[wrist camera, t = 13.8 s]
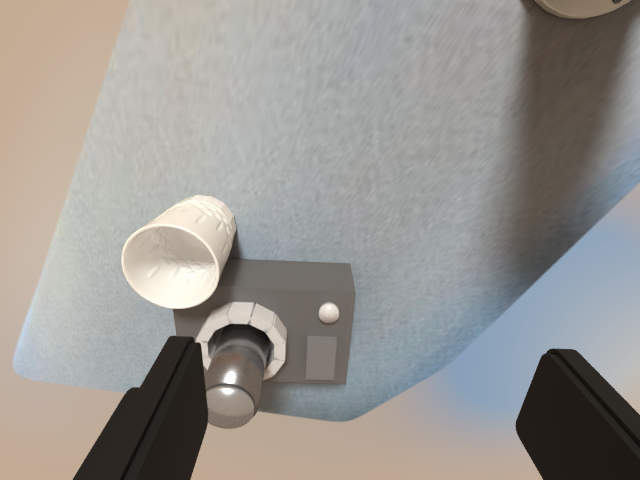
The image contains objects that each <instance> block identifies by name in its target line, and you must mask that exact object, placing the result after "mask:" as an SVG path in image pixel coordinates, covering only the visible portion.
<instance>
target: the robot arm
mask: <svg viewBox="0 0 640 480" xmlns="http://www.w3.org/2000/svg"><path fill="white" fill-rule="evenodd" d="M534 1H535V2H536V3H537V4H538V5H539V6H541V7H542V8H543V9H544V10H545V11H547V12H549V13H551V14H553V15H555V16H558V17H562V18H567V19H586V18H590V17H594V16H599V15H602V14H605V13H608V12H610V11H613V10H615V9H617V8H619V7H621V6H622V5H624V4H626V3H628V2H629V1H631V0H534ZM207 423H208V405H207V396H206V386H205V377H204V367H203V358H202V348H201V343H199V342H195V340H194V338H193V337H190V336H170V337H169V338H168V340H167V342H166V343H165V345H164V347H163V349H162V350H161V352H160V354H159V355H158V357H157V359H156V361H155V362H154V364H153V366H152V368H151V369H150V371H149V373H148V375H147V376H146V378H145V380H144V381H143V383H142V385H141V387H140V388H138V387H134V388H131V389H129V390H128V391H127V392H126V394H125V395H124V397H123V398H122V400H121V401H120V403H119V405H118V406H117V408H116V410H115V411H114V413H113V414H112V416H111V418H110V420H109V421H108V423H107V424H106V426H105V428H104V429H103V431H102V432H101V435H100V436H99V437H98V439H97V441H96V442H95V444H94V445H93V447H92V449H91V451H90V452H89V454H88V455H87V457H86V459H85V460H84V462H83V464H82V465H81V467H80V468H79V470H78V472H77V473H76V475H75V477H74V478H73V480H190V479H191V475H192V472H193V469H194V466H195V463H196V459H197V456H198V453H199V450H200V447H201V444H202V441H203V438H204V434H205V431H206V428H207ZM516 431H517V434H518V436H519V438H520V440H521V442H522V443H523V445H524V447H525V449H526V450H527V452H528V454H529V456H530V457H531V459H532V461H533V463H534V464H535V466H536V468H537V469H538V471H539V473H540V475H541V476H542V478H543V480H640V415H639V414H638V413H637V412H636V411H635V410H634V409H633V408H632V407H631V406H630V405H629V403H628V402H627V401H626V400H625V399H624V398H623V397H622V396H621V395H620V394H619V393H617V391H616V390H615V389H614V388H613V387H612V386H611V385H610V384H609V383H608V382H607V381H606V380H605V379H604V378H603V377H602V376H601V375H600V374H599V373H598V372H597V371H596V370H595V369H594V368H593V367H592V366H591V365H590V364H589V363H588V362H587V361H586V360H585V359H584V358H583V357H582V355H581V354H579V353H578V352H577V351H576V350H573V349H550V350H548V351H547V353H546V354H544V355H542V357H541V359H540V361H539V364H538V366H537V369H536V372H535V374H534V377H533V380H532V382H531V384H530V387H529V390H528V392H527V395H526V397H525V400H524V402H523V405H522V408H521V410H520V413H519V415H518V418H517V420H516Z"/></svg>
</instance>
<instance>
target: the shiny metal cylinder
mask: <svg viewBox="0 0 640 480" xmlns="http://www.w3.org/2000/svg"><path fill="white" fill-rule="evenodd" d="M269 344H270V338H269V337H268V336H267V334H266V333H265V332H264V331H262V330H260V329H258V328H256V327H254V326H252V325H250V324H228V325H226V326H224V328H223V330H222V333H221V336H220V338H219V341H218V344H217V346H216V349H215V352H214V354H213V357H212V360H211V362H210V365H209V368H208V370H207V373H206V376H205V386H206V396H207V405H208V423H210V424H211V425H213V426H216V427H220V428H226V429H232V428H238V427H241V426H243V425H245V424H247V423H248V422H249V421H250V420H251V418H252V417H253V416H254V415H255V414H256V412H257V410H258V406H259V401H260V395H261V389H262V384H263V378H264V372H265V367H266V361H267V355H268V350H269Z"/></svg>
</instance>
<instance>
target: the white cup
mask: <svg viewBox="0 0 640 480" xmlns="http://www.w3.org/2000/svg"><path fill="white" fill-rule="evenodd" d="M236 229H237V228H236V224H235V219H234V215H233V214H232V212H231V211H230V210H229V209H228V207H227V206H226V205H225V204H224V203H223V202H221V201H219V200H217V199H215V198H214V197H212V196H203V195H195V196H192V197H190V198H187V199H184V200H182V201H181V202H180V203H178V204H176V205H174V206H173V207H171V208H169V209H168V210H167V211H165V212H163V213H162V214H160V215H159V216H157V217H156V218H155V219H153V220H152V221H150V222H149V223H148V224H146V225H145V226H143V227H142V228H140V229H139V230H138V231H136V232H135V233H134V234H132V235H131V236H130V237H129V239H128V240H127V241H126V243H125V245H124V247H123V251H122V256H121V264H122V269H123V272H124V275H125V277H126V279H127V281H128V283H129V284H130V285H131V287H132V288H133V289H134V290H135V291H136V292H137V293H138V294H139V295H140V296H142V297H143V298H144V299H146V300H148V301H149V302H151V303H154V304H156V305H159V306H162V307H166V308H172V309H185V308H190V307H194V306H196V305H199V304H201V303H203V302H204V301H205V300H207V299H208V298H209V297H210V296H211V295H212V294H213V292H214V291H215V289H216V287H217V285H218V282H219V279H220V277H221V274H222V272H223V269H224V267H225V264H226V262H227V259H228V257H229V254H230V250H231V248H232V243H233V240H234V236H235V232H236Z"/></svg>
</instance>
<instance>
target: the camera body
mask: <svg viewBox="0 0 640 480" xmlns="http://www.w3.org/2000/svg"><path fill="white" fill-rule="evenodd" d="M355 293H356V292H355V287H354V282H353V276H352V271H351V266H350V264H345V263H321V262H296V261H271V260H247V259H227V262H226V264H225V267H224V269H223V272H222V274H221V277H220V279H219V282H218V285H217V287H216V289H215V291H214V292H213V294H212V295H211V296H210V297H209V298H208V299H207V300H205V301H204V302H203V303H201V304H199V305H196V306H194V307H190V308H185V309H173V312H174V320H175V327H176V334H177V336H190V337H193V338H194V340H195V342H199V343H201V348H202V358H203V367H204V377H205V376H206V373H207V370H208V368H209V365H210V362H211V360H212V357H213V354H214V352H215V349H216V346H217V344H218V341H219V338H220V336H221V333H222V330H223V328H224V326H226V325H228V324H250V325H252V326H254V327H256V328H258V329H260V330H262V331H264V332H265V333H266V334H267V336H268V337H269V338H270V344H269V350H268V355H267V361H266V367H265V372H264V378H263V381H264V382H297V383H331V384H346V376H347V366H348V357H349V348H350V339H351V330H352V320H353V311H354V302H355Z"/></svg>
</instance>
